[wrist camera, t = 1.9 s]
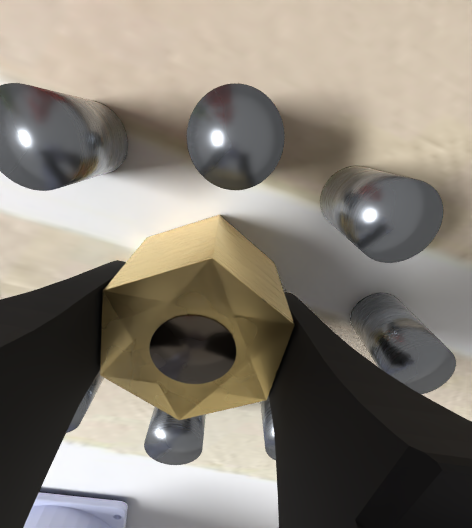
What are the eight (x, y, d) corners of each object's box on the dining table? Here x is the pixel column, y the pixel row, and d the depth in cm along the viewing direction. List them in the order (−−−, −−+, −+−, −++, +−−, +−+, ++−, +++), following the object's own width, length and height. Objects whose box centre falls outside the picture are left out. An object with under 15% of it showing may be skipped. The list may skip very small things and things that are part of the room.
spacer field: (343, 420, 15) (370, 488, 12) (66, 380, 14) (21, 446, 11) (486, 163, 10) (593, 176, 7) (55, 53, 8) (-39, 10, 5)
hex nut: (248, 347, 13) (255, 432, 9) (137, 328, 12) (98, 410, 9) (284, 228, 11) (313, 278, 7) (150, 200, 10) (103, 237, 6)
